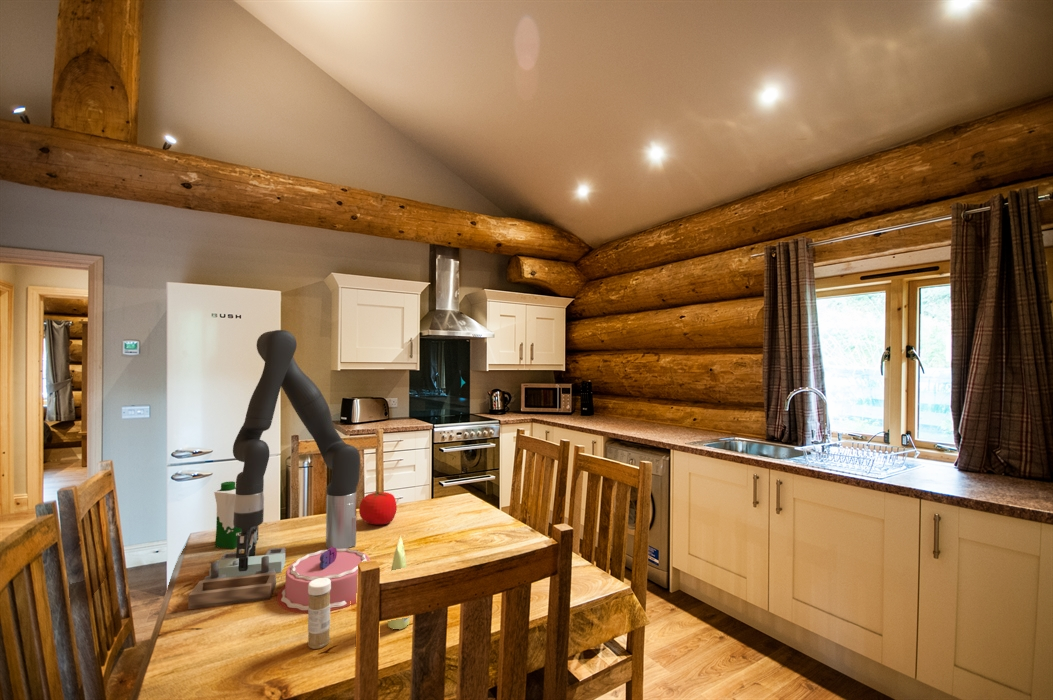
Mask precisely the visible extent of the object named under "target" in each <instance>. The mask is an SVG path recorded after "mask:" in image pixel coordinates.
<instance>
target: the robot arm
mask: <svg viewBox="0 0 1053 700" xmlns="http://www.w3.org/2000/svg"><path fill="white" fill-rule="evenodd" d="M297 345H298V344H297V340H296V338H295V336H294V335H293V333H292V332H291V331H287V330H284V329H277V330H270V331H266V332H264V333H262V334H260V335H259V337H258V338H257V340H256V350H257V353H258V354H259V356H260V357H261V359H262V360H263V361H264V366H263V369H262V373H261V376H260V378H259V380H258V383H257V385H256V386H255V388H254V391H253V393H252V395H251V397H250V399H249V403H248V407H247V410H246V414H245V419H244V422H243V424H242V425H241V427H240V428H239V429H240V430H239V432H238V433H237V435H236V438H235V440H234V441H233V445H232V454H233V457H234V459H236V460H237V461H239V462H241V463H243V468H242V471H241V472H239V473H238V474H237V476H236V480H235V486H236V494H235V500H234V521H233V525H234V527H236V528H240V529H241V533H239V536H237V548H235V550H236V551H235V552H236V558H239V568H238V570H239V571H240V572H241V571H247V569H248V557H250V556H256V549H257V548H256V546H257V544H258V540H259V526H260V525H261V524H263V523H264V516H265V515H264V514H265V513H264V510H265V495H264V487H265V485H264V483H265V482H264V480H265V479H264V476H265V474H266V471H267V467H268V464H269V460H270V448H269V445H268V443H267V442H266V441H264V440H263V439H261V437H262V434H263V433H264V432H265V431H268V430H269V429H270V428H271V426H272V423H273V419H274V414H275V410H276V405H277V402H278V398H279V395H280V391H281V388H282V390H283V392H284V394H285V395H286V397H287V399H288V401H289V403H290V405H291V406H292V408H293V410H294V411H295V413H296V415H297V416H298V418H299V419H300V421H301V422H302V424H303V425H304V427H305V428H306V430H307V431H308V433H309V434H310V435H311V437H312V439H314V443H315V444H316V446H317V448H318V451H319V452H320V454H321V457H322V460H323V462H324V463H325V465H326V466H327V467H328V468H329V469H331V480H330V482H329V483H328V484H327V486H326V520H325V521H326V523H325V525H326V528H325V547H326V548H327V550H328V549H329V548H331V547H335V548H337V549H344V548H348V549H350V548H351V547H356V546H357V545H356V543H357V487H358V484H359V481H360V469H361V468H360V467H361V457H360V456H361V455H360V452H359V451H358V448H356V447H355V446H354V445H350V444H348V443H346V442H345V441H344V440H343V439H342V438H341V436H340V435H339V433H338V432H337V430H336V427H335V426H334V423H333V418H332V413H331V410H330V406H329V405H328V402H327V401H326V399H325V396H324V395H323V394H322V392H321V390H320V388H319V387H318V386H317V385H316V383H315V382H313V380H312V379H311V378H310V377H309V376H307V375H306V373H305V372H304V371H303V370H302V369H301V368H300V367H299V365H298V363H297V362H296V360H295V358H294V355H295V353H296V349H297ZM242 551H244V553H242Z"/></svg>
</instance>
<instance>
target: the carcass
mask: <svg viewBox="0 0 1053 700" xmlns="http://www.w3.org/2000/svg"><path fill="white" fill-rule="evenodd" d="M210 568H211V576H209V575H206V576H205V577H204V578H203V579H202V580H199V581H198V582H197V584H196V585H195V586H194V587H193V589H191V592H190V593H189V594H188V604H187V605H188V610H195V609H203V608H212V607H220V606H227V605H235V604H245V603H252V602H260V601H268V600H271V597H272V595H273V594H274V591H275V588H276V586H277V573H276V572H275V569H269V556H264V557H262V558H261V570H259V571H256V573H255V574H254V575H246V576H237V577H228V578H226V574H223V575H219V561H216V560H215V561H212V562H210Z"/></svg>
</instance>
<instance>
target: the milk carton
mask: <svg viewBox="0 0 1053 700" xmlns="http://www.w3.org/2000/svg"><path fill="white" fill-rule="evenodd" d="M213 493H214V498H215V502H216V522H215V523H216V526H215V530H216V531H215V538H214V539H215V540H214V548H218V547H220V548H219V549H229V550H234V549H235V550H236V549H237V536H239V533H241V529H240V528H236V527H234V525H233V521H234V500H235V494H236V481H234V480H233V481H230V480H229V481H224V482H221V483H220V489H219V490H216V491H214V492H213Z"/></svg>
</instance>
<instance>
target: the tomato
mask: <svg viewBox="0 0 1053 700" xmlns="http://www.w3.org/2000/svg"><path fill="white" fill-rule="evenodd" d="M358 510H359V511H358V512H359V516H360V518H361V520H362V521H363V522H365V523H367V524H371V525H374V526H375V525H376V526H377V525H379V526H380V525H381V526H383V525H387V524H389V523H391V522H392V521H393V519H394V518H395V516H396V515H397V514H396V513H397V500H396V497H395V495H394V494H392V493H389V492H386V491H385V492H384V491H374V492H371V493H368V494H367V495H365V496H363V498H362V499H361V501H360V504H359V508H358Z"/></svg>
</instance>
